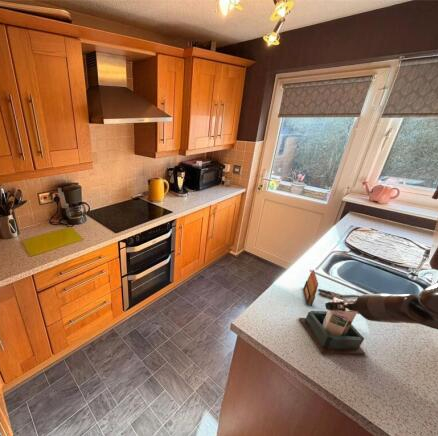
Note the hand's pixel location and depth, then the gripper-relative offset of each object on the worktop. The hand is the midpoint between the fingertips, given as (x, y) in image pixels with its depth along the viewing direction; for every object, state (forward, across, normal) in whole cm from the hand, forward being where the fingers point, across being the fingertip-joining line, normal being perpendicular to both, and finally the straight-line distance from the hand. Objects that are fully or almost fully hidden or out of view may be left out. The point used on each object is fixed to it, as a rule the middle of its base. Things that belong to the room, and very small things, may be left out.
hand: (339, 306), depth 80 cm
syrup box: (+8, 0, +10) cm, 12 cm away
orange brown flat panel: (+23, -3, -3) cm, 23 cm away
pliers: (+21, -19, -2) cm, 28 cm away
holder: (+8, 0, +10) cm, 13 cm away
